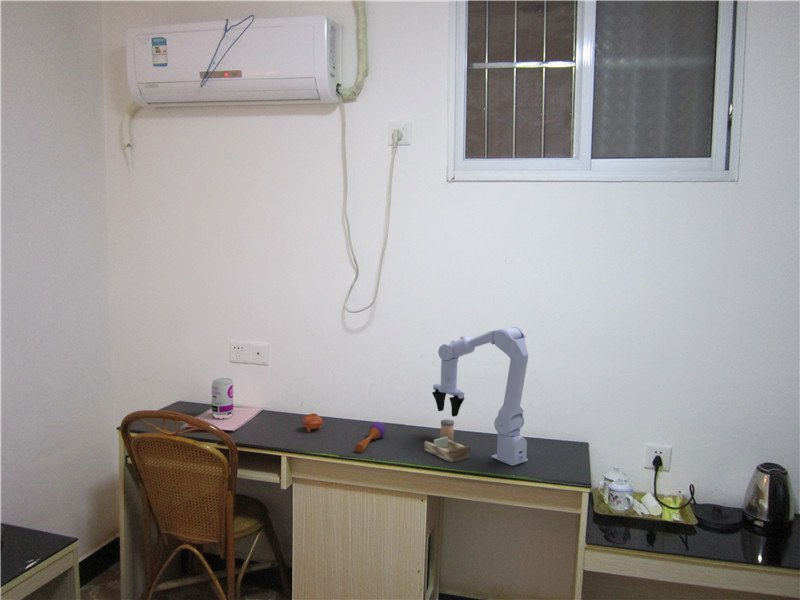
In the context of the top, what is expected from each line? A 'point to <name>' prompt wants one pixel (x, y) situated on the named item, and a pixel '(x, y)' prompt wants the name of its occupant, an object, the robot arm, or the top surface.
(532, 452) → the top surface
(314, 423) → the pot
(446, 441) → the pusher
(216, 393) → the supplement can
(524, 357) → the robot arm
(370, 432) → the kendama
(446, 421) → the jar
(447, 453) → the tray
